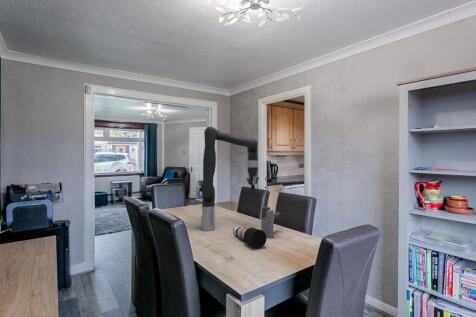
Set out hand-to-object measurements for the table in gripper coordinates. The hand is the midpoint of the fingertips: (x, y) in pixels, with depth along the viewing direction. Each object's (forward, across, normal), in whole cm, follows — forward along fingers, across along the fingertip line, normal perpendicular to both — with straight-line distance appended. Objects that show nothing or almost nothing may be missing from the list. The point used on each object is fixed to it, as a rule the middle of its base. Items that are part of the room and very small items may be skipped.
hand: (252, 190), depth 190 cm
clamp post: (+29, +8, +18) cm, 35 cm away
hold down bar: (+17, +1, +16) cm, 23 cm away
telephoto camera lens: (+29, +22, +10) cm, 38 cm away
